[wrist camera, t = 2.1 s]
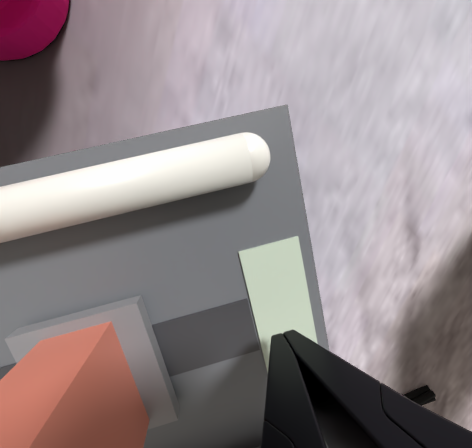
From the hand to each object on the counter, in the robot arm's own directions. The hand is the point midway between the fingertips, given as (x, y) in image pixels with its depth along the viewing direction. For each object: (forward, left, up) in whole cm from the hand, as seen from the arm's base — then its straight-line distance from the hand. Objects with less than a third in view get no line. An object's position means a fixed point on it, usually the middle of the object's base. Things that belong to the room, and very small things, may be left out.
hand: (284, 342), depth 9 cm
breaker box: (+7, 0, -6) cm, 9 cm away
